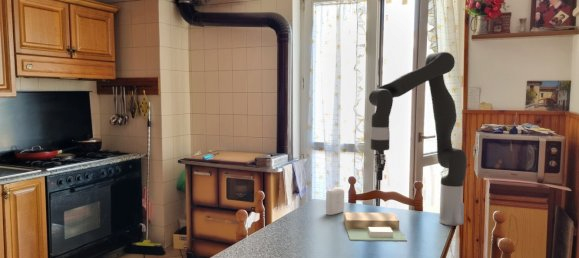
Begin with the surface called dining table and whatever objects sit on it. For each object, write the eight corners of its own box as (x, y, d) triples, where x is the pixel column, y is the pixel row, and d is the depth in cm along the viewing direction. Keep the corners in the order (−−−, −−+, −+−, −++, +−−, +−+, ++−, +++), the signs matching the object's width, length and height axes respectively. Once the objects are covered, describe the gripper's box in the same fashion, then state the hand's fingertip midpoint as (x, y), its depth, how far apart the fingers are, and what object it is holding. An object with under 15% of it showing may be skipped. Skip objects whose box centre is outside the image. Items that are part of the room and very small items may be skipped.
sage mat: (399, 230, 182) (399, 229, 182) (406, 241, 169) (406, 240, 169) (346, 229, 183) (346, 228, 183) (350, 240, 170) (350, 239, 170)
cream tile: (393, 231, 173) (393, 236, 173) (390, 227, 179) (390, 231, 179) (370, 231, 173) (370, 236, 173) (368, 226, 179) (368, 231, 179)
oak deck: (393, 221, 194) (393, 212, 194) (399, 230, 182) (399, 220, 182) (343, 221, 195) (344, 212, 195) (346, 229, 183) (346, 220, 183)
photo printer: (338, 210, 213) (338, 185, 212) (345, 211, 210) (345, 186, 209) (324, 214, 206) (324, 188, 205) (331, 216, 203) (331, 189, 202)
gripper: (392, 139, 171) (391, 183, 172) (386, 136, 184) (385, 176, 185) (373, 139, 171) (372, 183, 172) (368, 136, 184) (367, 176, 186)
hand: (379, 179), depth 179 cm, fingers closed
